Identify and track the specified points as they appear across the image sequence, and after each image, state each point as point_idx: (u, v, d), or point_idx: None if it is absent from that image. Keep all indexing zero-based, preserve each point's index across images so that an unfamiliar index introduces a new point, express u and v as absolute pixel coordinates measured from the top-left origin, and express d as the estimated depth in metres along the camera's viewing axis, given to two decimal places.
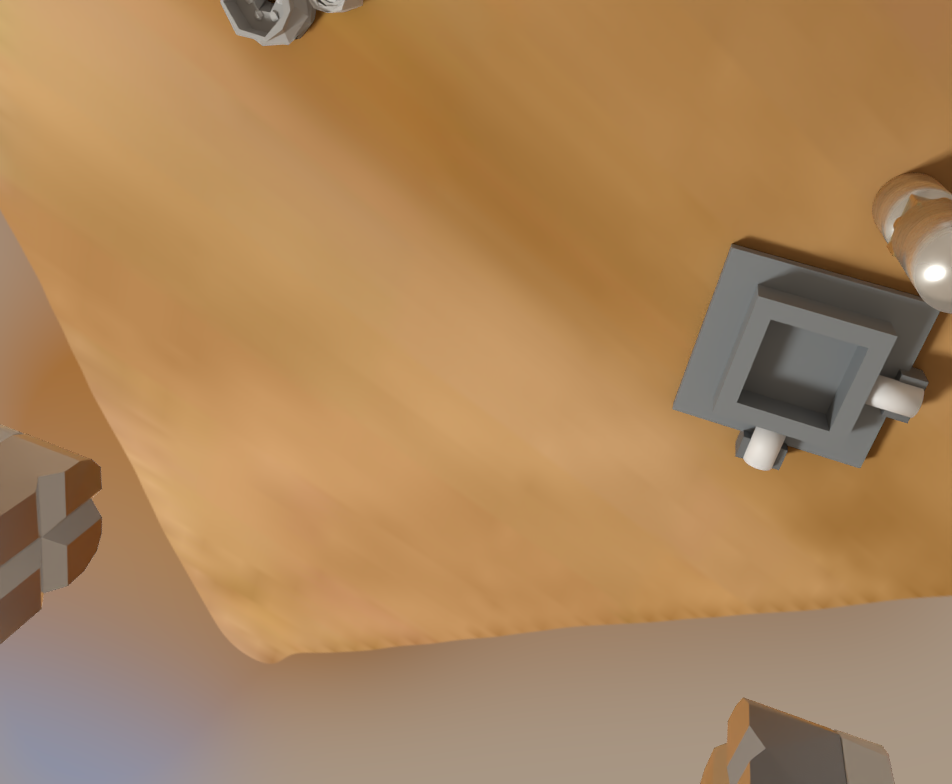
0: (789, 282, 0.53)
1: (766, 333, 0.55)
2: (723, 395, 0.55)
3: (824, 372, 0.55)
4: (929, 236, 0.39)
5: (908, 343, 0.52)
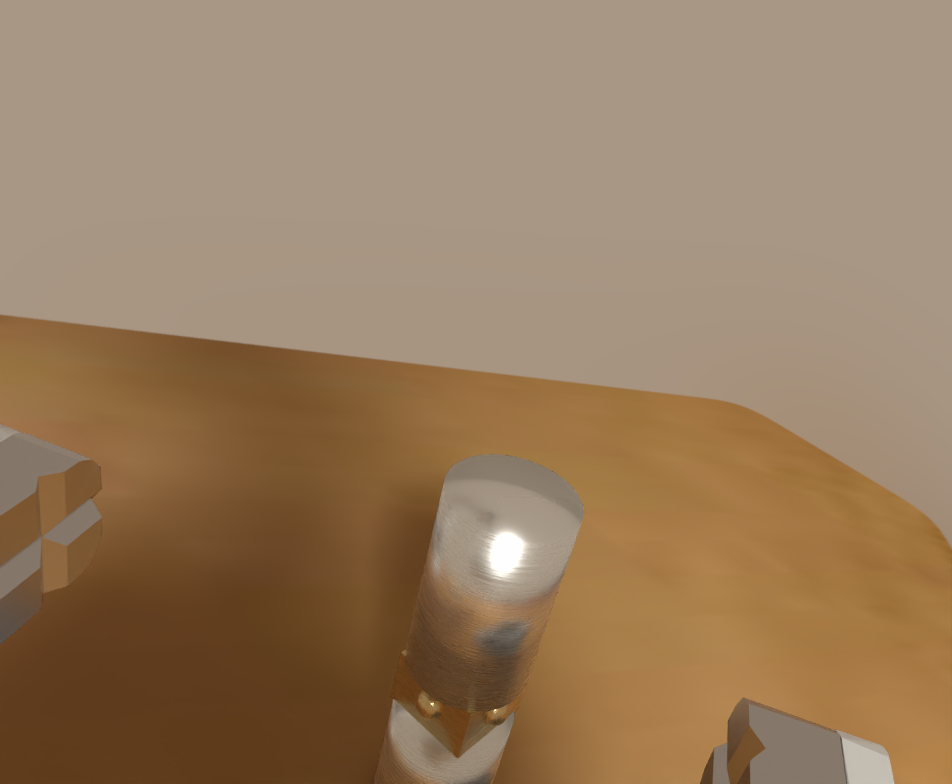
0: None
1: None
2: None
3: None
4: (441, 525, 0.23)
5: None
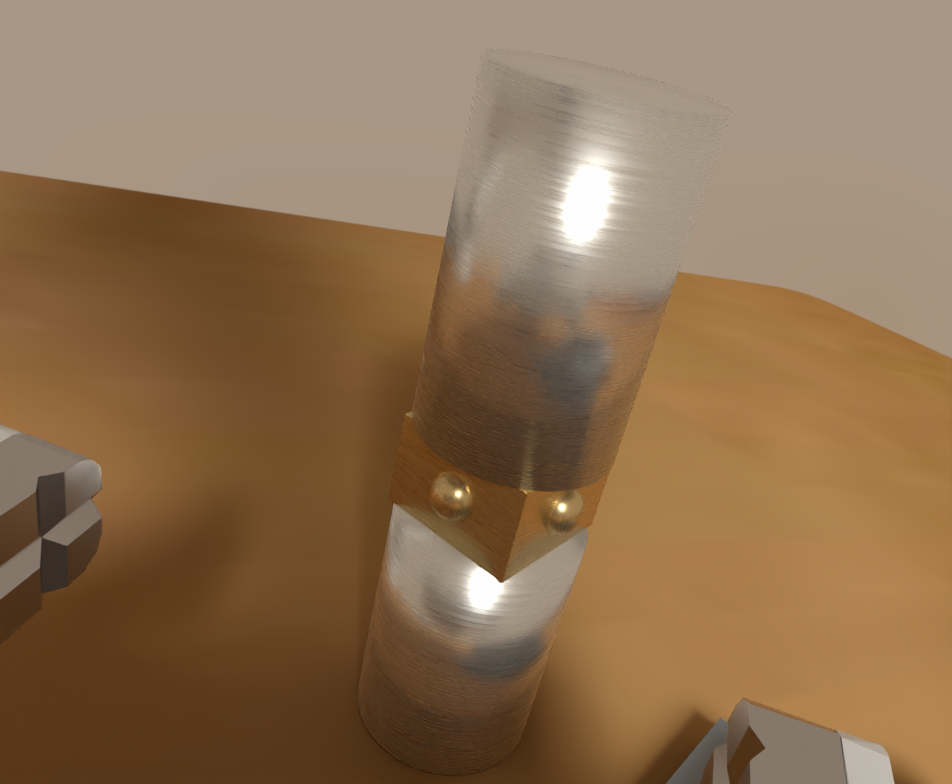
0: None
1: None
2: None
3: None
4: (477, 122, 0.13)
5: None
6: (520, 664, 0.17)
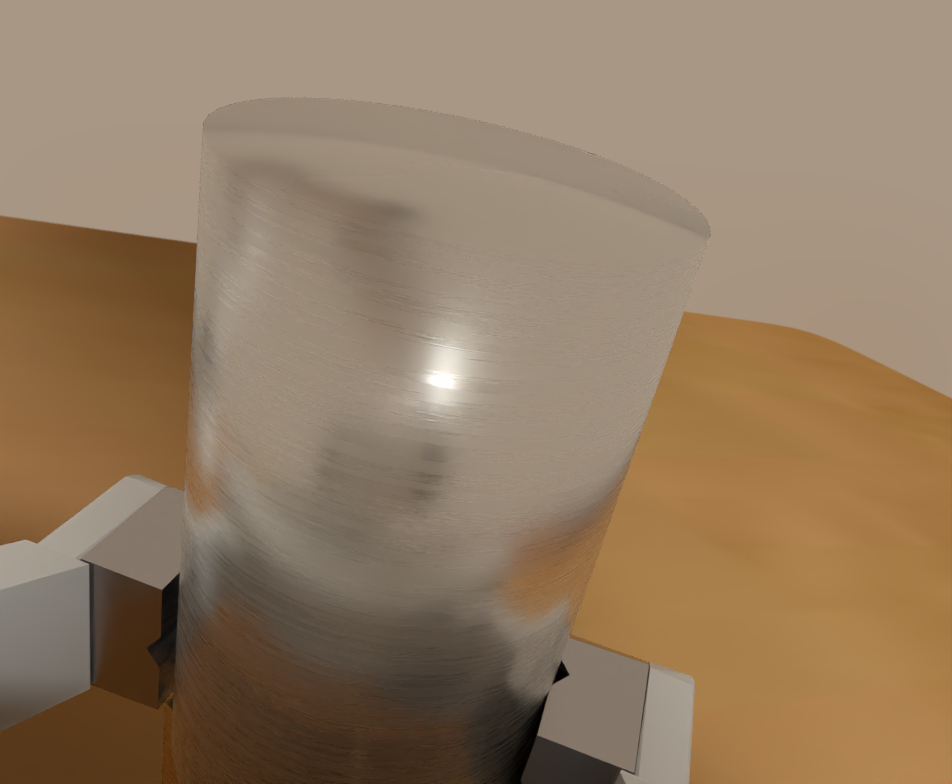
0: None
1: None
2: None
3: None
4: (198, 255, 0.06)
5: None
6: None
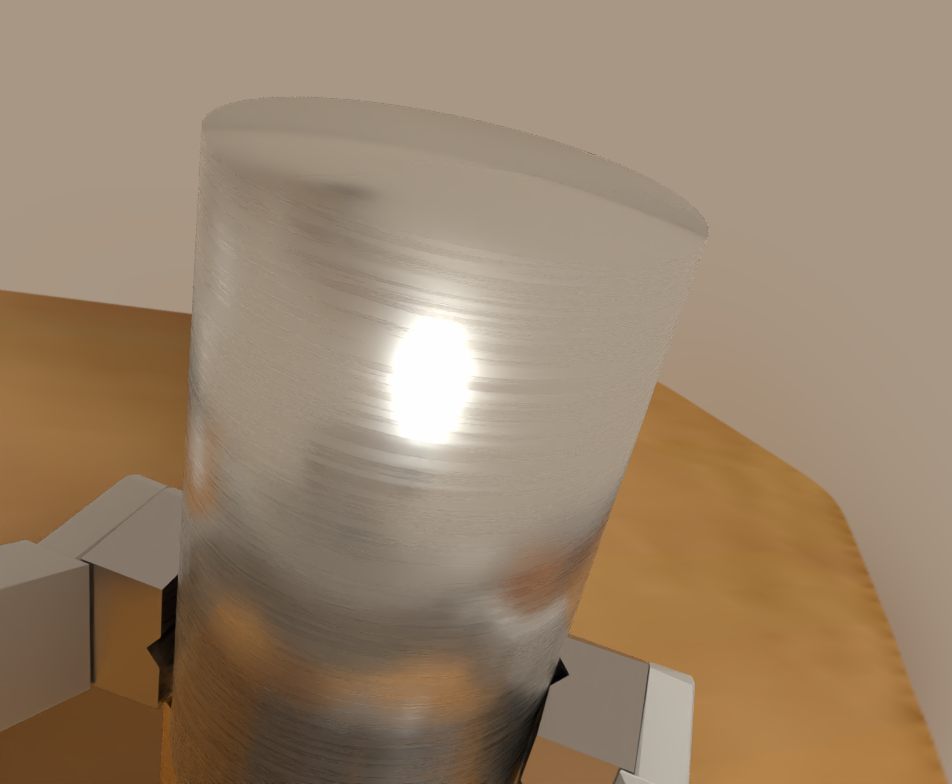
0: None
1: None
2: None
3: None
4: (195, 254, 0.06)
5: None
6: None
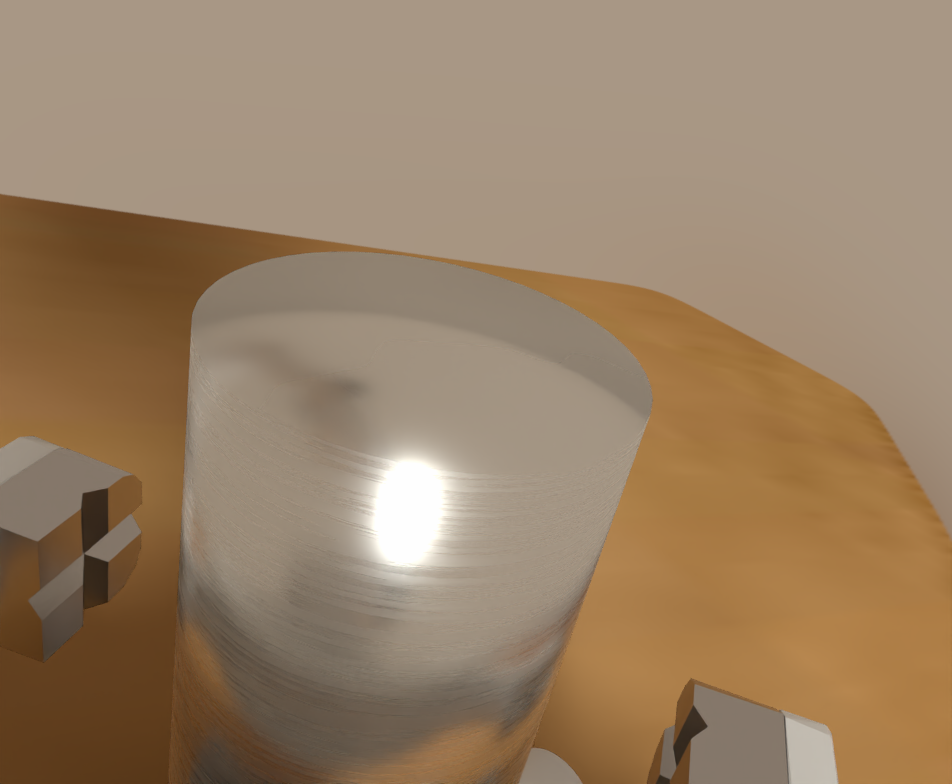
0: None
1: None
2: None
3: None
4: (186, 431, 0.07)
5: None
6: None
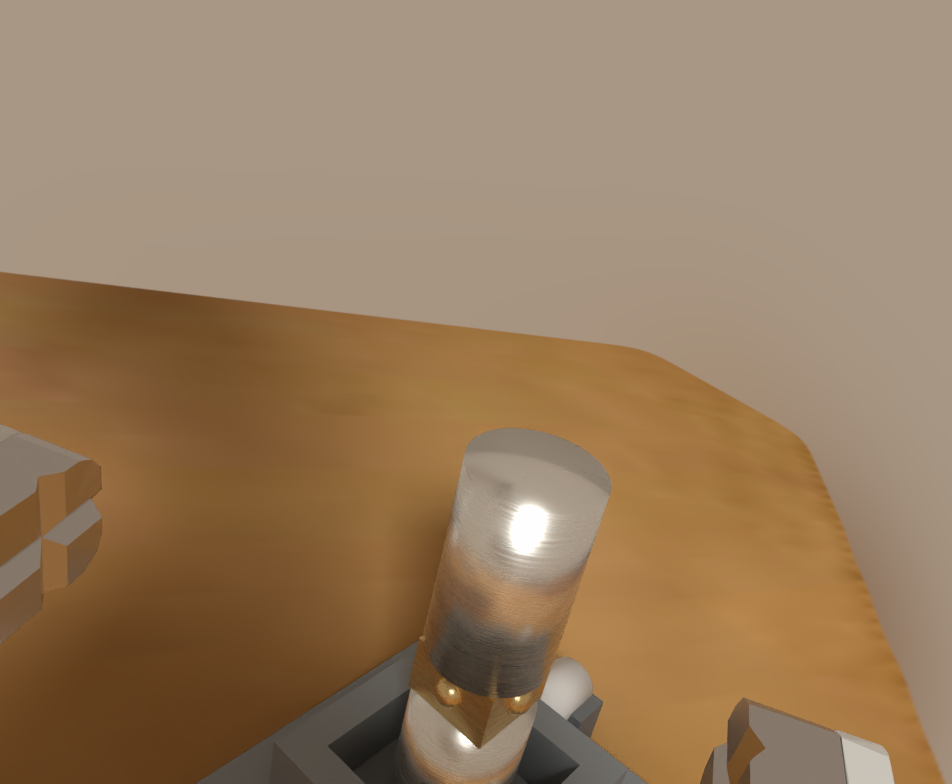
0: None
1: None
2: None
3: None
4: (462, 499, 0.22)
5: None
6: None
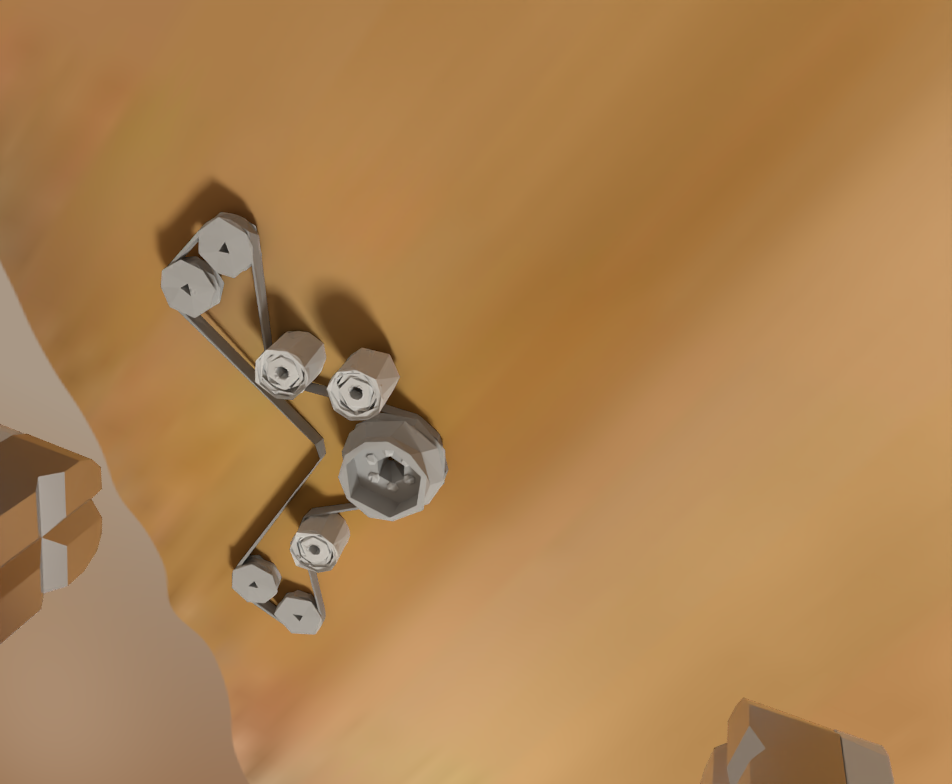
0: None
1: None
2: None
3: None
4: None
5: None
6: None
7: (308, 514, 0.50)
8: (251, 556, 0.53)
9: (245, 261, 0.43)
